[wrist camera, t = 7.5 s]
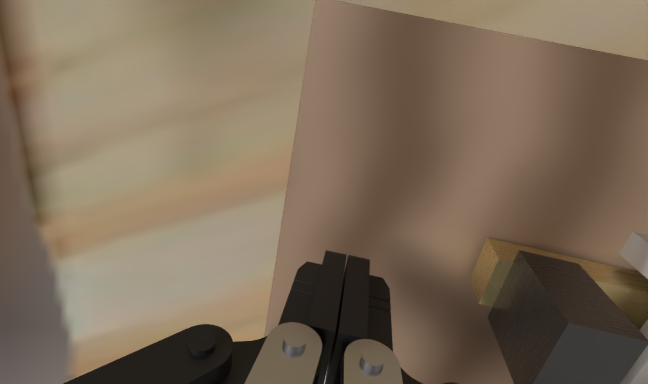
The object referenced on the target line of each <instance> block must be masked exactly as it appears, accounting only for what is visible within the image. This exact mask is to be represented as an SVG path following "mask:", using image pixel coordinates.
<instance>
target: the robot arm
mask: <svg viewBox="0 0 648 384" xmlns="http://www.w3.org/2000/svg"><path fill="white" fill-rule="evenodd" d="M346 257H347V254H342V253H337V252H333V251H328V250H326V251H325V255H324V259H323V263H322V264H317V263H313V262H308V261H307V262H306V263H305V264H303V265H302V266H301V267H300V268H298V270H297V273H296V276H295V278H294V281H293V284H292V287H291V290H290V293H289V295H288V298H287V301H286V304H285V307H284V310H283V312H282V315H281V318H280V321H279V324H278V326H276V327H275V328H273V329H272V330H271V331H270V333H269V334H268V336H266V337H264V338H261V339H258V340H254V341H240V342H233V341H232V338H231V336H230V334H229V333H228V332H227V331H226V330H224V329H223V328H221V327H219V326H215V325H209V324H203V325H196V326H193V327H190V328H188V329H185V330H183V331H181V332H179V333H176V334H174V335H172V336H170V337H167V338H165V339H163V340H161V341H158V342H156V343H154V344H151V345H149V346H147V347H145V348H142V349H140V350H138V351H136V352H133V353H131V354H129V355H127V356H124V357H122V358H120V359H118V360H115V361H113V362H111V363H109V364H106V365H104V366H102V367H100V368H97V369H95V370H93V371H91V372H88V373H86V374H84V375H82V376H79V377H77V378H75V379H73V380H70V381H68V382H66V383H64V384H324V380H325V375H326V381H325V384H423V383H421V382H419V381H417V380H415V379H414V378H412V377H411V376H409V375H408V374H407V373H406V372H405V371H404V370H403V369H402V368H401V367H400V364H399V361H398V358H397V357H396V355H395V354H394V353H393V342H392V323H391V303H390V289H389V287H388V285H387V284H386V282H385V280H384V279H383V278H382V277H377V276H372V275H370V259H366V258H361V257H356V256H352V255H348V258H347V263H346ZM345 264H346V267H345ZM344 271H345V272H344ZM327 367H328V368H327ZM326 371H327V374H326ZM443 384H459V383H453V382H448V383H443Z"/></svg>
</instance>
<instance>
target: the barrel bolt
mask: <svg viewBox="0 0 648 384" xmlns="http://www.w3.org/2000/svg"><path fill="white" fill-rule="evenodd" d="M469 280H470V282H471V285H472V287H473V290H474V293H475V295H476V298H477V300H478V303H479V304H482V305H486V306H490V307H492V309H491V311H490V313H489V315H488V320H489V322H490V325H491V327H492V330H493V332H494V335H495V337H496V340H497V342H498V345H499V347H500V350H501V352H502V355H503V357H504V360H505V362H506V365H507V367H508V370H509V372H510V375H511V377H512V380H513V382H514V384H620V383H621V381H622V380H623V378H624V377H625V376H626V374H627V373H628V372H629V370H630V369H631V368H632V366H633V365H634V363H635V362H636V361H637V359H638V358H639V357H640V355H641V354H642V352H643V351H644V350H645V348H646V347H647V346H648V339H647V338H646V337H645V336H644V335H643V334H642V333H641V332H640V329H641V328H642V326H643V325H644V323H645V322H646V321H647V319H648V279H647V278H646V277H645V276H643V275H642V274H641V273H640V272H638V271H633V270H629V269H624V268H620V267H615V266H611V265H607V264H602V263H598V262H593V261H589V260H584V259H580V258H575V257H571V256H566V255H562V254H558V253H553V252H549V251H544V250H540V249H535V248H531V247H526V246H522V245H517V244H513V243H509V242H504V241H500V240H495V239H491V238H487V239H486V241H485V243H484V246H483V248H482V251H481V253H480V255H479V258H478V260H477V263H476V265H475V267H474V270H473V272H472V274H471V277H470V279H469Z"/></svg>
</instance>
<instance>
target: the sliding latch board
mask: <svg viewBox="0 0 648 384" xmlns="http://www.w3.org/2000/svg"><path fill="white" fill-rule="evenodd" d="M487 238H491V239H495V240H500V241H504V242H509V243H513V244H517V245H522V246H526V247H531V248H535V249H540V250H544V251H549V252H553V253H558V254H562V255H566V256H571V257H575V258H580V259H584V260H589V261H593V262H598V263H602V264H607V265H611V266H615V267H620V268H624V269H629V270H633V271H638V272H640V273H641V274H642V275H643V276H645V277H646V278H647V279H648V61H647V60H642V59H637V58H632V57H626V56H621V55H616V54H611V53H606V52H600V51H595V50H590V49H585V48H580V47H574V46H569V45H564V44H559V43H554V42H548V41H543V40H538V39H533V38H528V37H522V36H517V35H512V34H507V33H502V32H496V31H491V30H486V29H481V28H476V27H470V26H465V25H460V24H455V23H450V22H444V21H439V20H434V19H429V18H424V17H418V16H413V15H408V14H403V13H398V12H392V11H387V10H382V9H377V8H372V7H366V6H361V5H356V4H351V3H346V2H340V1H335V0H315V6H314V12H313V19H312V26H311V32H310V39H309V45H308V52H307V59H306V65H305V72H304V78H303V85H302V92H301V98H300V105H299V111H298V118H297V125H296V131H295V138H294V144H293V151H292V157H291V164H290V171H289V177H288V184H287V190H286V197H285V204H284V210H283V217H282V223H281V230H280V237H279V243H278V250H277V256H276V263H275V270H274V276H273V283H272V289H271V296H270V303H269V309H268V316H267V322H266V329H265V335H264V337H266V336H268V334H269V333H270V331H271V330H272V329H273V328H275V327H276V326H278V324H279V321H280V318H281V315H282V312H283V310H284V307H285V304H286V301H287V298H288V295H289V293H290V290H291V287H292V284H293V281H294V278H295V276H296V273H297V270H298V268H300V267H301V266H302V265H303V264H305V263H306V262H307V261H308V262H313V263H317V264H322V263H323V259H324V255H325V251H326V250H328V251H333V252H337V253H342V254H347V257H346V263H347V258H348V255H352V256H356V257H361V258H366V259H370V275H372V276H377V277H382V278H383V279H384V280H385V282H386V284H387V285H388V287H389V289H390V303H391V323H392V342H393V353H394V354H395V355H396V357H397V358H398V361H399V364H400V367H401V368H402V369H403V370H404V371H405V372H406V373H407V374H408V375H409V376H411V377H412V378H414V379H415V380H417V381H419V382H421V383H423V384H443V383H448V382H453V383H459V384H514V382H513V380H512V377H511V375H510V372H509V370H508V367H507V365H506V362H505V360H504V357H503V355H502V352H501V350H500V347H499V345H498V342H497V340H496V337H495V335H494V332H493V330H492V327H491V325H490V322H489V320H488V315H489V313H490V311H491V309H492V307H490V306H486V305H482V304H479V303H478V300H477V298H476V295H475V293H474V290H473V287H472V285H471V282H470V280H469V279H470V277H471V274H472V272H473V270H474V267H475V265H476V263H477V260H478V258H479V255H480V253H481V251H482V248H483V246H484V243H485V241H486V239H487ZM345 267H346V264H345ZM344 272H345V271H344ZM640 332H641V333H642V334H643V335H644V336H645V337H646V338H647V339H648V319H647V321H646V322H645V323H644V325H643V326H642V328H641V329H640ZM620 384H648V346H647V347H646V348H645V350H644V351H643V352H642V354H641V355H640V357H639V358H638V359H637V361H636V362H635V363H634V365H633V366H632V368H631V369H630V370H629V372H628V373H627V374H626V376H625V377H624V378H623V380H622V381H621V383H620Z"/></svg>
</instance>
